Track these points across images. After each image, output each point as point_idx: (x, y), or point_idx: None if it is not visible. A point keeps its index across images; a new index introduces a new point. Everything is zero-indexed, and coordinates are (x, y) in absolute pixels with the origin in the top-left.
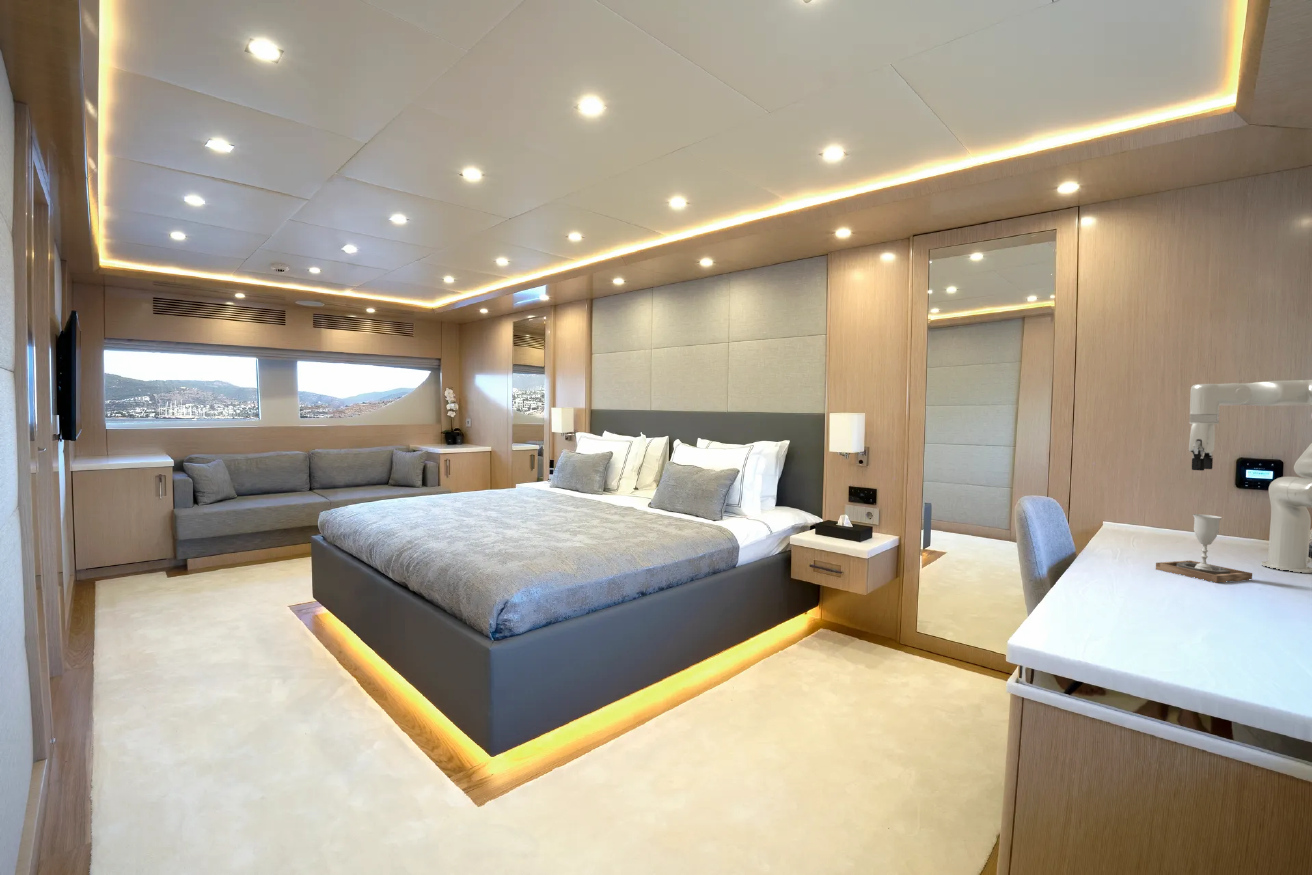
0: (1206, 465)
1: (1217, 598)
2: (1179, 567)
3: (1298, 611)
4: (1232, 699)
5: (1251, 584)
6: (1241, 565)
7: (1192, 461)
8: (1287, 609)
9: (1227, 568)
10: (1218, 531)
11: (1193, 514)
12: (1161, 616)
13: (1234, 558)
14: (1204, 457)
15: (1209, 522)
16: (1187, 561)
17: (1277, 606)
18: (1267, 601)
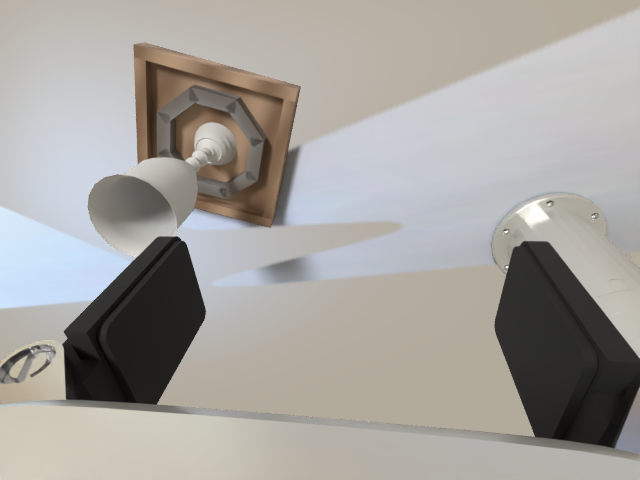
0: (516, 321)
1: (11, 219)
2: (140, 111)
3: (78, 299)
4: None
5: (218, 227)
6: (488, 163)
7: (100, 301)
8: (72, 289)
9: (271, 183)
10: (168, 224)
11: (122, 175)
12: None
13: (637, 118)
14: (583, 404)
15: (118, 222)
16: (266, 91)
17: (74, 279)
18: (92, 267)
